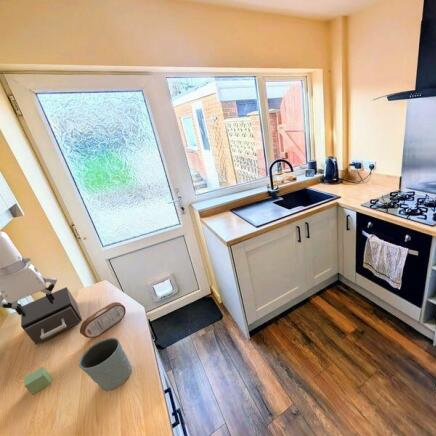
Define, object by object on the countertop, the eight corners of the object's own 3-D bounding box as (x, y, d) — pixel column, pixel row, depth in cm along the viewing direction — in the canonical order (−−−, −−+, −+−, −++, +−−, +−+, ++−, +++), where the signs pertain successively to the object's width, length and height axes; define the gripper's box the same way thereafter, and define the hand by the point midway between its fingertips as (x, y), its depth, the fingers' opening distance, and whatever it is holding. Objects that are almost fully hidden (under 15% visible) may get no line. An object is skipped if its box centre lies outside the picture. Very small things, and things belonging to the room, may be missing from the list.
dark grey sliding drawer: (82, 329, 96) (72, 315, 93) (36, 354, 88) (24, 339, 85) (75, 305, 110) (66, 292, 106) (35, 325, 101) (24, 311, 98)
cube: (32, 395, 75) (24, 386, 73) (32, 385, 78) (24, 376, 76) (51, 383, 78) (43, 375, 76) (50, 374, 81) (43, 366, 79)
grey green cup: (139, 371, 79) (125, 345, 73) (105, 401, 71) (86, 375, 66) (125, 356, 84) (110, 332, 79) (91, 383, 77) (72, 358, 72)
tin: (126, 312, 104) (118, 297, 100) (130, 315, 102) (122, 299, 98) (85, 340, 92) (74, 324, 89) (89, 344, 91) (78, 327, 87)
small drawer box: (82, 320, 102) (70, 302, 98) (35, 344, 93) (20, 326, 89) (76, 303, 113) (66, 286, 109) (34, 323, 104) (21, 306, 99)
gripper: (44, 252, 88) (68, 290, 96) (-28, 277, 78) (5, 318, 85) (45, 258, 83) (70, 298, 91) (-32, 286, 73) (4, 329, 80)
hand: (38, 307), depth 88 cm, fingers open, 6 cm apart
